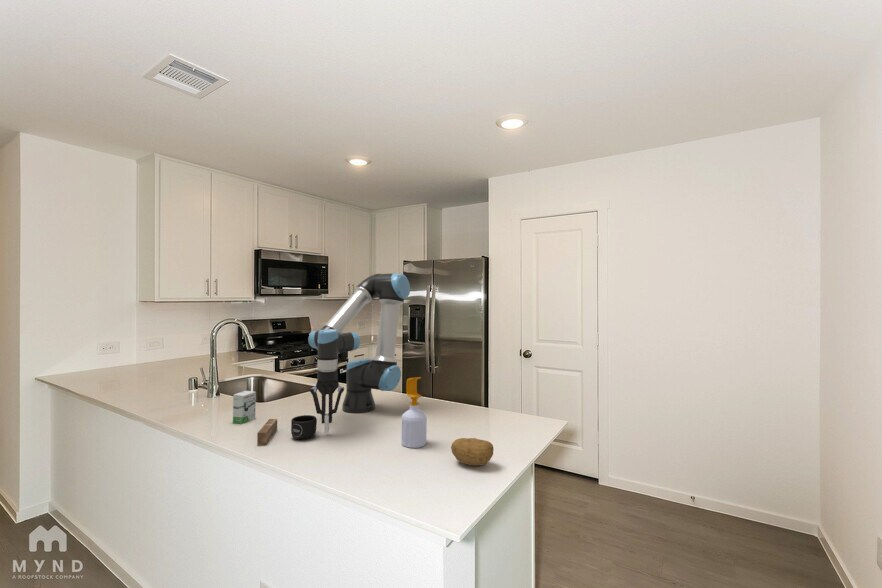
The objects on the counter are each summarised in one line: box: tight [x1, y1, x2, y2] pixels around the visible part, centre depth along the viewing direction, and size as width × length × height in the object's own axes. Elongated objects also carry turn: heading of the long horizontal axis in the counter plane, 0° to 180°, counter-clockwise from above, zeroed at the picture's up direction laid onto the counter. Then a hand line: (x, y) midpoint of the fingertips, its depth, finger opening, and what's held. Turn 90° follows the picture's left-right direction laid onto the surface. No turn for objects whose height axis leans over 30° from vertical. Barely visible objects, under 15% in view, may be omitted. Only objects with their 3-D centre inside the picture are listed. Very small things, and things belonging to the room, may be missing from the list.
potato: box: [450, 437, 494, 467], centre depth 132 cm, size 10×14×8 cm
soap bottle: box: [401, 376, 428, 449], centre depth 149 cm, size 9×9×25 cm
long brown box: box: [256, 418, 278, 446], centre depth 153 cm, size 3×16×5 cm, turn 9°
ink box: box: [232, 390, 257, 425], centre depth 173 cm, size 9×5×12 cm, turn 168°
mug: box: [290, 414, 318, 441], centre depth 155 cm, size 12×9×7 cm
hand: (326, 431), depth 157 cm, fingers closed
